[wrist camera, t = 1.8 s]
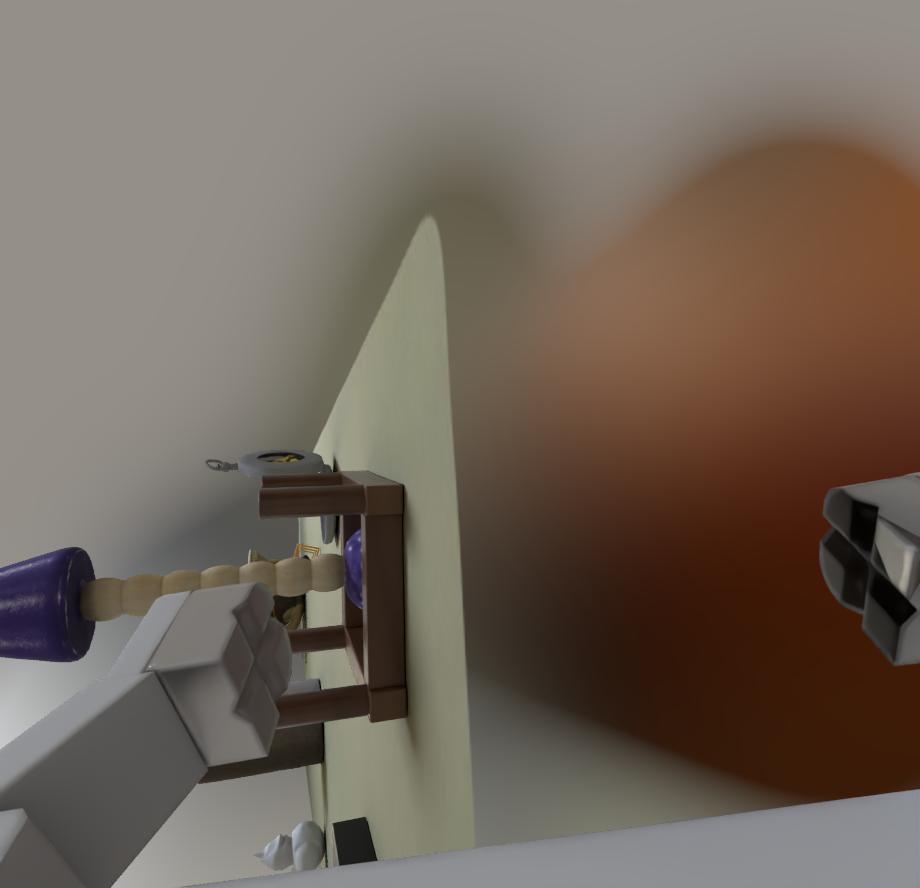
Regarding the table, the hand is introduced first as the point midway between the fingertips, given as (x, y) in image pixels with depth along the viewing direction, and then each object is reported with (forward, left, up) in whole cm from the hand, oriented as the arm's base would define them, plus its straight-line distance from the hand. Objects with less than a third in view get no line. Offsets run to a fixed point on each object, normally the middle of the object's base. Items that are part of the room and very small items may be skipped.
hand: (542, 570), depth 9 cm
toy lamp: (+21, +5, -1) cm, 21 cm away
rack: (+21, +5, -1) cm, 21 cm away
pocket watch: (+44, +3, -1) cm, 44 cm away
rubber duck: (+65, +47, -1) cm, 80 cm away
